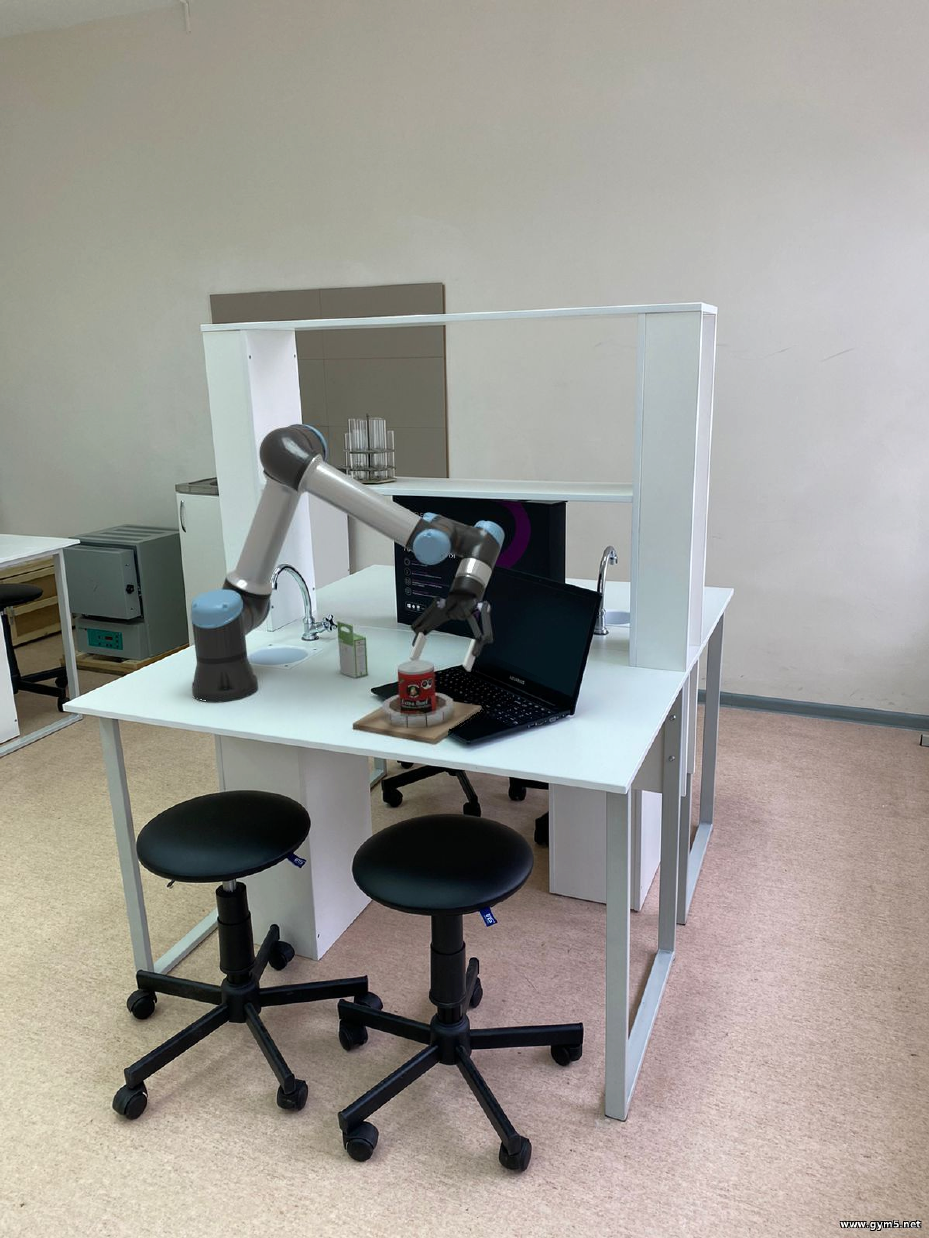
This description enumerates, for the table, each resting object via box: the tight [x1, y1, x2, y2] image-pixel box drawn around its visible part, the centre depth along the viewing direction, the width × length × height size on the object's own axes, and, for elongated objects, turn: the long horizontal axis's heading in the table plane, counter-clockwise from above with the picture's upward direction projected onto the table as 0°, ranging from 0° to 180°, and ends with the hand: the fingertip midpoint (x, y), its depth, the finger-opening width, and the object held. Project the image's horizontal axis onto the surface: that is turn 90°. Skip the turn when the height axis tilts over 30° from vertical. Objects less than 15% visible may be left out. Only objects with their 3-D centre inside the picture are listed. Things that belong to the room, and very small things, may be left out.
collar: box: [381, 692, 454, 728], centre depth 202 cm, size 15×15×2 cm
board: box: [352, 701, 483, 745], centre depth 202 cm, size 20×20×1 cm
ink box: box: [336, 621, 369, 679], centre depth 232 cm, size 7×4×13 cm, turn 40°
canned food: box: [397, 659, 436, 714], centre depth 201 cm, size 8×8×11 cm
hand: (439, 664), depth 208 cm, fingers open, 13 cm apart
